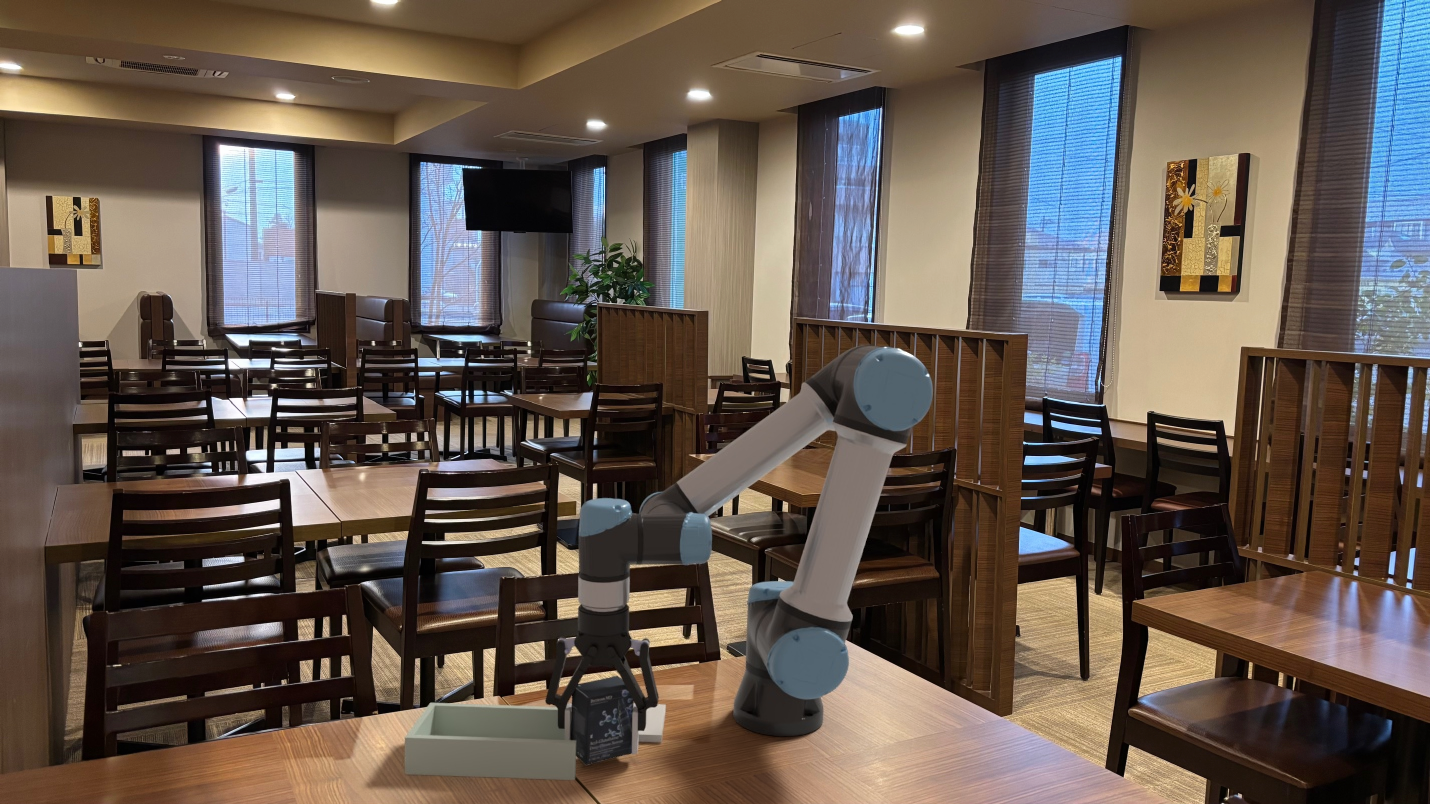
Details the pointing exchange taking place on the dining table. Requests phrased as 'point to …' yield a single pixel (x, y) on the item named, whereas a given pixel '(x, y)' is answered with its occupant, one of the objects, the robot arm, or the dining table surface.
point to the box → (602, 720)
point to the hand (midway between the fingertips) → (601, 749)
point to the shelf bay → (490, 742)
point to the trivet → (653, 724)
